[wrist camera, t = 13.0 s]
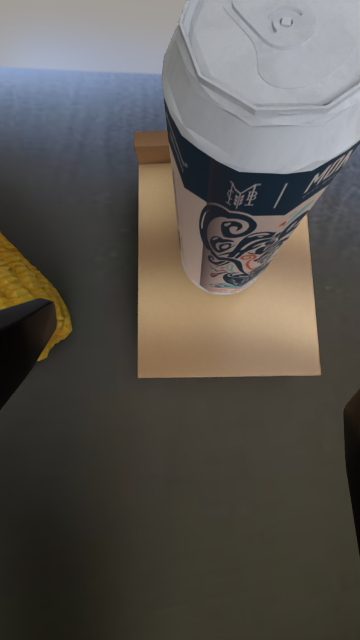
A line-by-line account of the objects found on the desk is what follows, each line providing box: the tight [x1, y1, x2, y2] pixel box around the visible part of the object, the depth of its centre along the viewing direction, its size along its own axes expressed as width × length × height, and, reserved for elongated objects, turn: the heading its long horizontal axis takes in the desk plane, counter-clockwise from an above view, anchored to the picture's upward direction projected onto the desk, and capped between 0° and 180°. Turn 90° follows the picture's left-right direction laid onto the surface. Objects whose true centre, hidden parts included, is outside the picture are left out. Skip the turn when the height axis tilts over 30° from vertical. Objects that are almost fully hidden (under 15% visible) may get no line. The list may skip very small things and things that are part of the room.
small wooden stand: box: [134, 130, 321, 378], centre depth 18 cm, size 14×10×6 cm
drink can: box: [162, 0, 360, 295], centre depth 11 cm, size 5×5×12 cm
